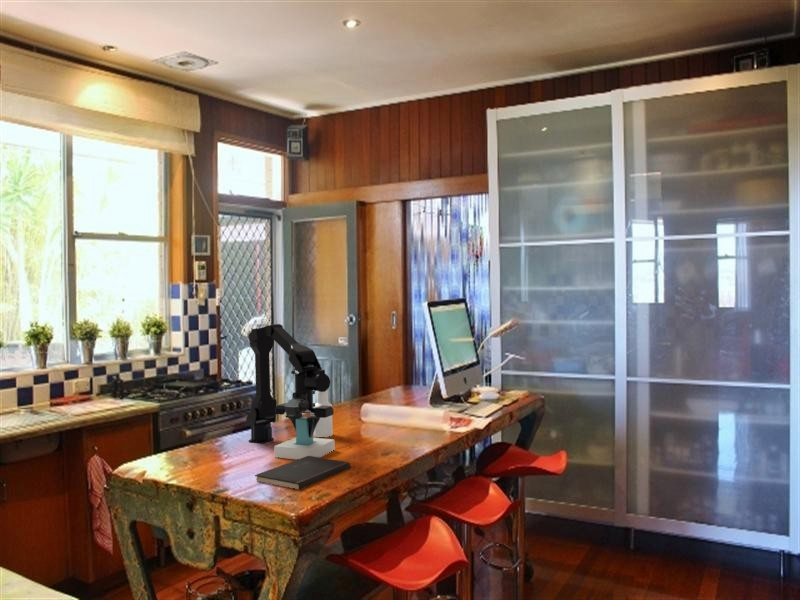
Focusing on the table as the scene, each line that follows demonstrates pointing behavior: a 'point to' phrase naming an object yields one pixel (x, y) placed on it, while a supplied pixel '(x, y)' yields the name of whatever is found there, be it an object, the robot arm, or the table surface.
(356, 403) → the table surface
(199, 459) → the table surface
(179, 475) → the table surface
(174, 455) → the table surface
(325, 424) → the white bottle
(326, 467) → the hardcover book
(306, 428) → the peg
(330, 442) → the socket block
